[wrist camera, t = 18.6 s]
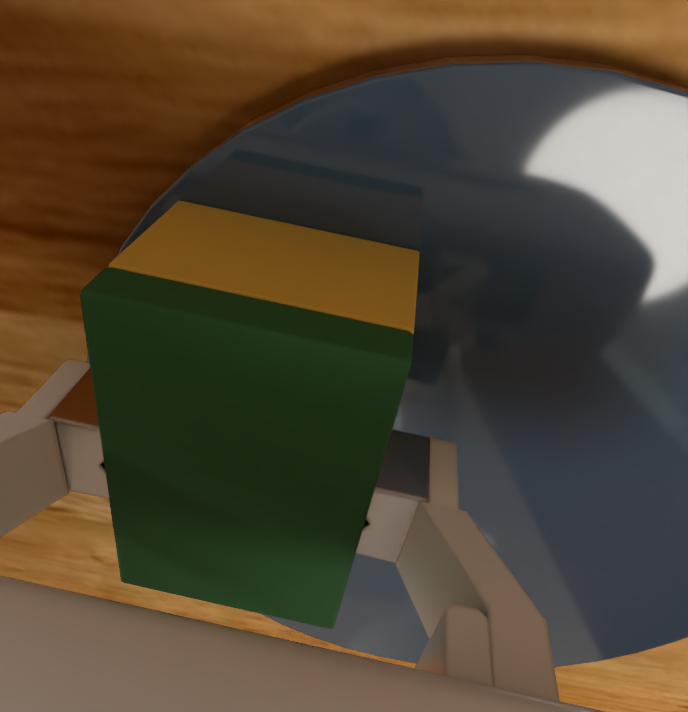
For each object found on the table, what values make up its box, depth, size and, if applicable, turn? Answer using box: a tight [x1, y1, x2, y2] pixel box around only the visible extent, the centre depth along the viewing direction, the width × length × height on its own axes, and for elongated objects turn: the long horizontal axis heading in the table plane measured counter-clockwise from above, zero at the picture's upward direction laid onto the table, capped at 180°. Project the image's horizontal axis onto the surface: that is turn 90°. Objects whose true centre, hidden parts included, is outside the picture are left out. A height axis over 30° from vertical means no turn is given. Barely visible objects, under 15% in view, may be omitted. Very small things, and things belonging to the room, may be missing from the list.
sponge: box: [80, 201, 419, 629], centre depth 11 cm, size 7×4×4 cm, turn 171°
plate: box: [87, 55, 688, 667], centre depth 14 cm, size 18×18×1 cm
